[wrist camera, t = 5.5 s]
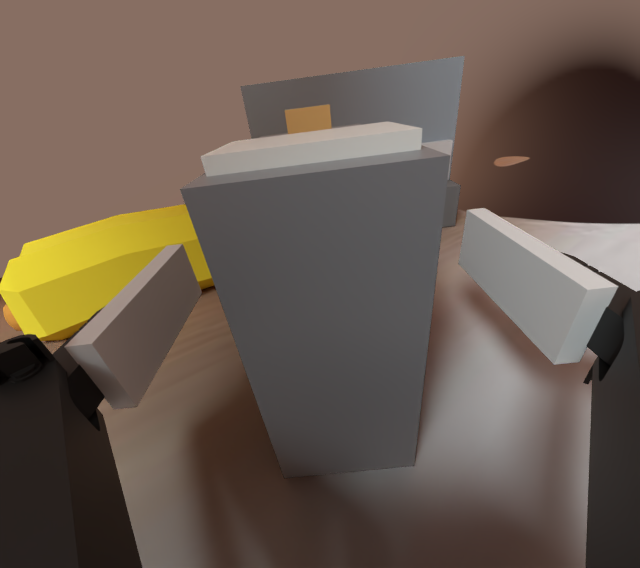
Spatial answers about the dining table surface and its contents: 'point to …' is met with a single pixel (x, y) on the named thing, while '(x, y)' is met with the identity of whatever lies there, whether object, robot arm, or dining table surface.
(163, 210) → the yellow faceted gourd
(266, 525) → the dining table surface
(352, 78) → the rail panel
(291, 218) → the block
